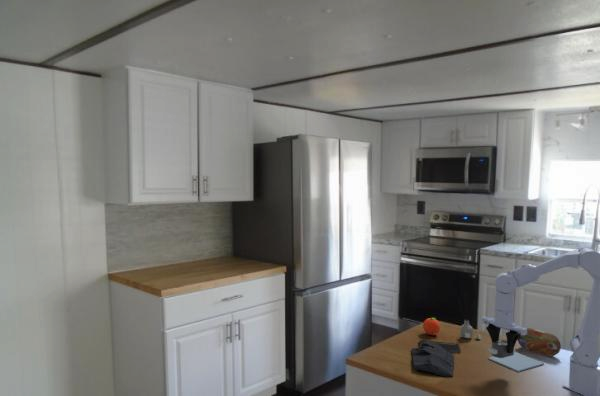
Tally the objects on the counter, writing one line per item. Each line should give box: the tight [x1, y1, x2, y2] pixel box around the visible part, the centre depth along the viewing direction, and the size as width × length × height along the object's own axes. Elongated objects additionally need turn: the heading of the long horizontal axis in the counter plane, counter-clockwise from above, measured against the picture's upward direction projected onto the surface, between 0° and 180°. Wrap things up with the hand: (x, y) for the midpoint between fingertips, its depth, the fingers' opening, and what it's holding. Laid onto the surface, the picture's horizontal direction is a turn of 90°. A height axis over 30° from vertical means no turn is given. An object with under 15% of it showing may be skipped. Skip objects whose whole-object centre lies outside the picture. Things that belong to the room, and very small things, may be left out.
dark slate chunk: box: [411, 339, 455, 378], centre depth 153 cm, size 15×22×5 cm
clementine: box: [422, 317, 441, 336], centre depth 181 cm, size 8×7×7 cm
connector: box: [487, 338, 515, 358], centre depth 143 cm, size 4×10×4 cm, turn 117°
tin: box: [517, 327, 562, 358], centre depth 163 cm, size 15×3×8 cm, turn 37°
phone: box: [418, 339, 461, 354], centre depth 167 cm, size 8×1×15 cm
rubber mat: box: [487, 351, 545, 373], centre depth 154 cm, size 12×14×1 cm
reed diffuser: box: [456, 289, 482, 340], centre depth 178 cm, size 10×7×20 cm
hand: (502, 350), depth 143 cm, fingers closed on connector, 4 cm apart
